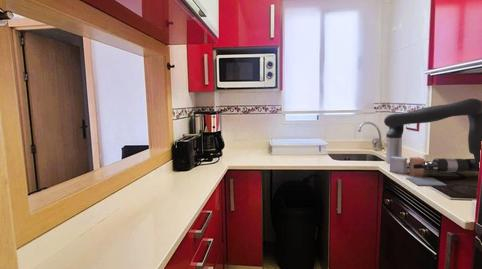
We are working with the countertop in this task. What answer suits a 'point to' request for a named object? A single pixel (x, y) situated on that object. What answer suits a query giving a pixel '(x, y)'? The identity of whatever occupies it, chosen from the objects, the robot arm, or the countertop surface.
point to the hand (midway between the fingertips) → (411, 165)
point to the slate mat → (426, 182)
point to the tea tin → (416, 172)
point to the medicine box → (398, 164)
